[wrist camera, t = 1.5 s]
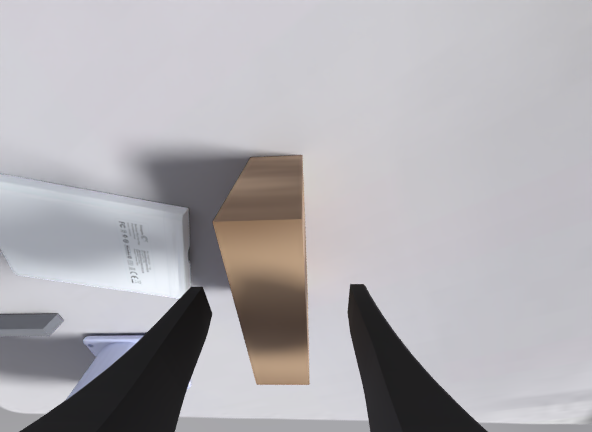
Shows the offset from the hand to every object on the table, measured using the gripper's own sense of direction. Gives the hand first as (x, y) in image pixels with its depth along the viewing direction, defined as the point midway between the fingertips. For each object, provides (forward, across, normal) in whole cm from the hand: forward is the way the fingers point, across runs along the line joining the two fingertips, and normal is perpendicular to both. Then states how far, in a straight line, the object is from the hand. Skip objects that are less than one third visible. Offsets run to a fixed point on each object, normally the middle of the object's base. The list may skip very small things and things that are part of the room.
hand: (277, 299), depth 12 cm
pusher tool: (+6, 0, 0) cm, 6 cm away
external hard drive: (+6, +13, 0) cm, 15 cm away
